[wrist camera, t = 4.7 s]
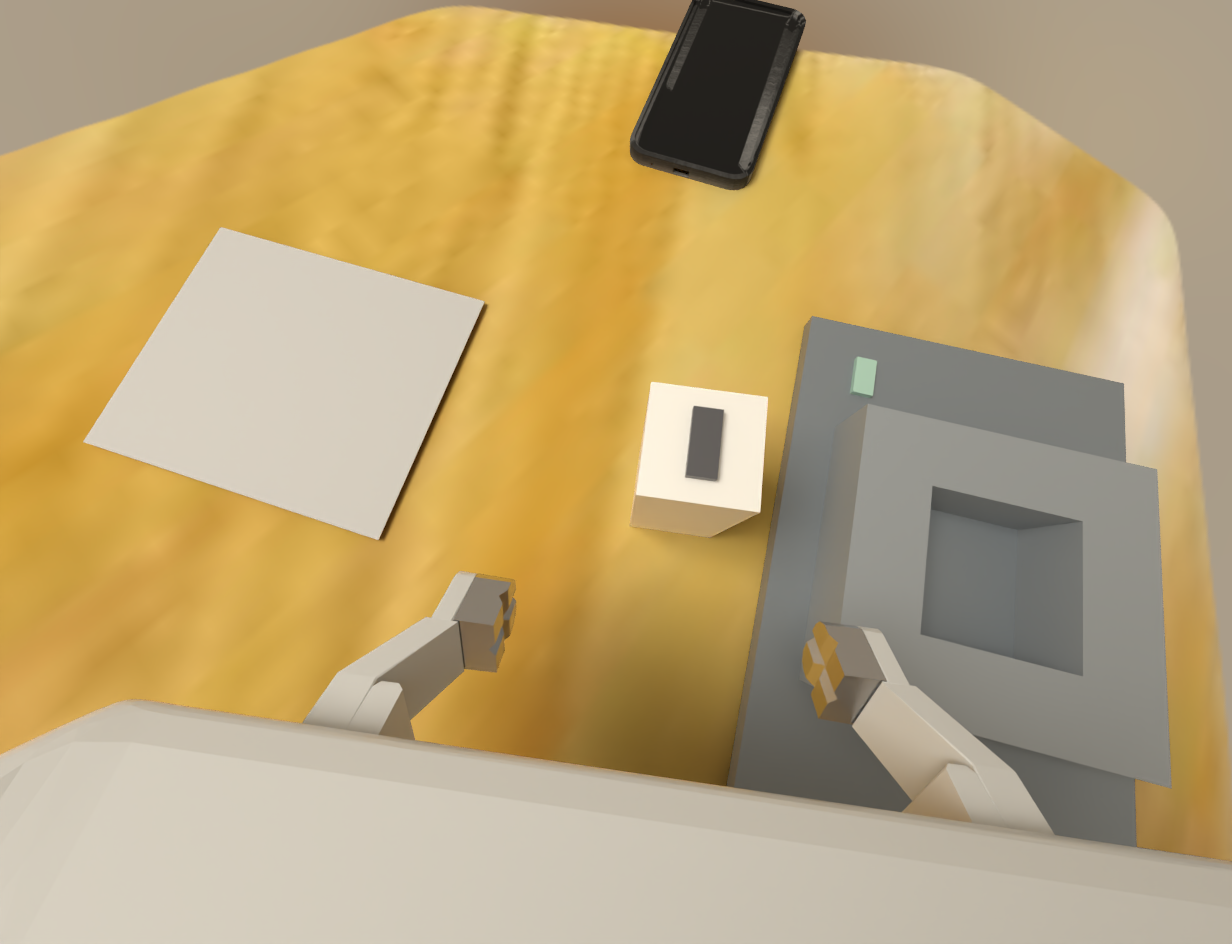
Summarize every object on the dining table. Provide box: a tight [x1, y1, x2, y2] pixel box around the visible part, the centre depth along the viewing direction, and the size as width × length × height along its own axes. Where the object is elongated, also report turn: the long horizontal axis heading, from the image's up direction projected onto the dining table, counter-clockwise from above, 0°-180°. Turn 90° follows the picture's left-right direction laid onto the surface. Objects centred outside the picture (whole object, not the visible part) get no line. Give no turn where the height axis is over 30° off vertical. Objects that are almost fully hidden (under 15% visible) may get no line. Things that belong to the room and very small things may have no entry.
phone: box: [630, 0, 806, 190], centre depth 29 cm, size 8×1×15 cm
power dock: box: [727, 316, 1172, 847], centre depth 19 cm, size 24×16×4 cm, turn 166°
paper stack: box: [84, 227, 484, 540], centre depth 25 cm, size 23×25×1 cm
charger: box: [630, 382, 768, 538], centre depth 18 cm, size 4×4×8 cm
